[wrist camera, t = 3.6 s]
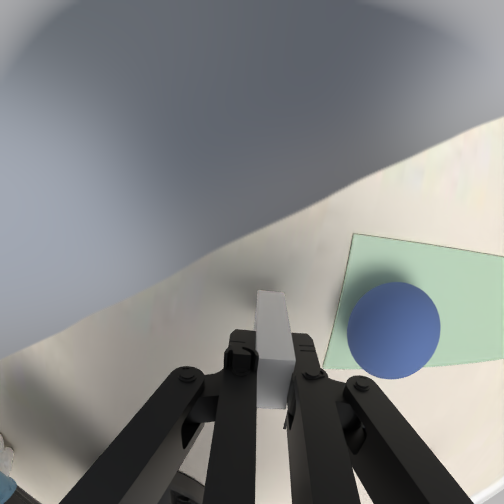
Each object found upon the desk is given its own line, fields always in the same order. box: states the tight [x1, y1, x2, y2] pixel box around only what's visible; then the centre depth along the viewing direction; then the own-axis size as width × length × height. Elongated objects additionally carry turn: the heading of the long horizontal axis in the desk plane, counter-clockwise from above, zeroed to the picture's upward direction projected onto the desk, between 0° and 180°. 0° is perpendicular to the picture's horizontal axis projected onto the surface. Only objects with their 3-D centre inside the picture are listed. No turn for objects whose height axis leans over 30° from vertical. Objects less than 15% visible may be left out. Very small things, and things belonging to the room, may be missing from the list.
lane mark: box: [323, 234, 504, 369], centre depth 20 cm, size 32×10×1 cm, turn 84°
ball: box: [347, 282, 441, 379], centre depth 17 cm, size 6×6×6 cm
